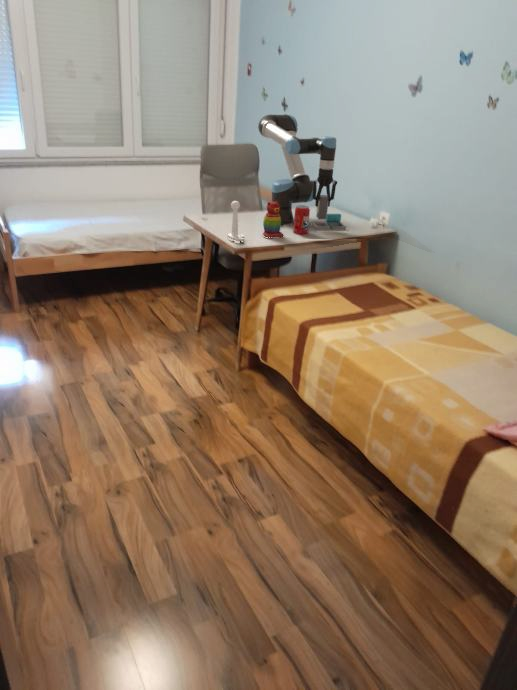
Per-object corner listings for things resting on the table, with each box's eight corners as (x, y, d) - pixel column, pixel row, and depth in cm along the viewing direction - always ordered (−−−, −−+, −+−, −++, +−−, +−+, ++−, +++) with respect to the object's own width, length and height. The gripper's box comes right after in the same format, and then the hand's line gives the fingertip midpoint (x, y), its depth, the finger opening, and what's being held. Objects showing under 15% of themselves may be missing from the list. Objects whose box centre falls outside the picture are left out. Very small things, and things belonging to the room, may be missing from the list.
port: (331, 230, 288) (332, 219, 285) (325, 224, 299) (326, 213, 296) (345, 230, 289) (346, 219, 286) (338, 224, 300) (339, 213, 297)
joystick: (225, 238, 270) (226, 198, 260) (238, 236, 273) (239, 197, 264) (236, 244, 262) (237, 203, 252) (249, 242, 265) (250, 202, 256)
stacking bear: (266, 239, 271) (268, 204, 263) (258, 233, 279) (260, 200, 271) (285, 237, 275) (287, 203, 267) (276, 232, 283) (278, 199, 275)
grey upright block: (318, 219, 286) (321, 197, 280) (316, 216, 291) (318, 194, 286) (325, 219, 287) (328, 197, 281) (323, 216, 292) (325, 194, 286)
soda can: (291, 232, 284) (293, 204, 277) (305, 232, 286) (307, 204, 279) (295, 236, 277) (297, 208, 270) (309, 236, 279) (312, 208, 272)
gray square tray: (317, 234, 284) (317, 228, 282) (309, 225, 298) (310, 220, 297) (347, 234, 286) (348, 228, 285) (338, 225, 301) (338, 220, 300)
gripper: (312, 169, 272) (308, 214, 283) (343, 169, 274) (338, 214, 285) (308, 166, 278) (305, 210, 289) (339, 167, 281) (334, 210, 292)
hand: (321, 212), depth 287 cm, fingers closed on grey upright block, 4 cm apart
